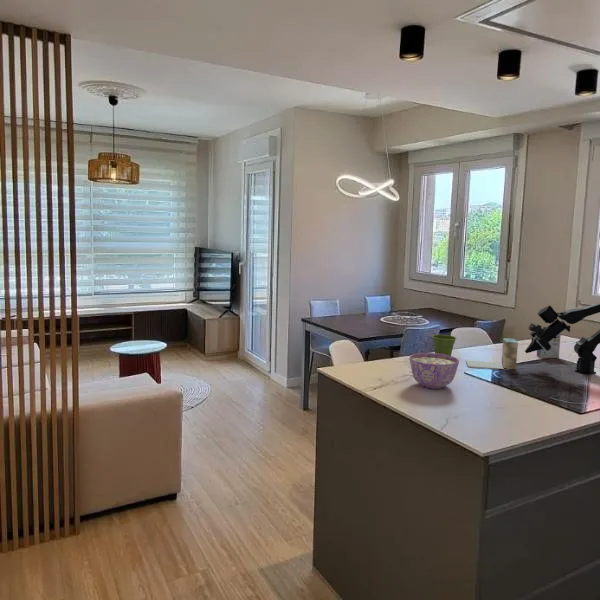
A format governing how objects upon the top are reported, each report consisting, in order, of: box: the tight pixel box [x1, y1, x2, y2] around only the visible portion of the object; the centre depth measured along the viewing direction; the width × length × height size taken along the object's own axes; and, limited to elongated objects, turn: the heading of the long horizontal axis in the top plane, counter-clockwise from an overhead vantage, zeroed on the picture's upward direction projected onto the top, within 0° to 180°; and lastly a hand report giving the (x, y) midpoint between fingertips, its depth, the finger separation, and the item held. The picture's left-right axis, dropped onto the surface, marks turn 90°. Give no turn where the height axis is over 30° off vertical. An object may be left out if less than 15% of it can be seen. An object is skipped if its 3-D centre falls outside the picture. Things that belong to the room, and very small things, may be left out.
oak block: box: [501, 337, 519, 370], centre depth 247 cm, size 5×9×13 cm, turn 168°
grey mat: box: [465, 359, 505, 370], centre depth 250 cm, size 16×12×1 cm
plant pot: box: [431, 334, 457, 356], centre depth 261 cm, size 12×12×11 cm
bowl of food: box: [409, 352, 460, 390], centre depth 215 cm, size 20×20×12 cm
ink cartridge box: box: [536, 334, 562, 359], centre depth 269 cm, size 10×6×14 cm, turn 89°
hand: (525, 352), depth 245 cm, fingers closed
